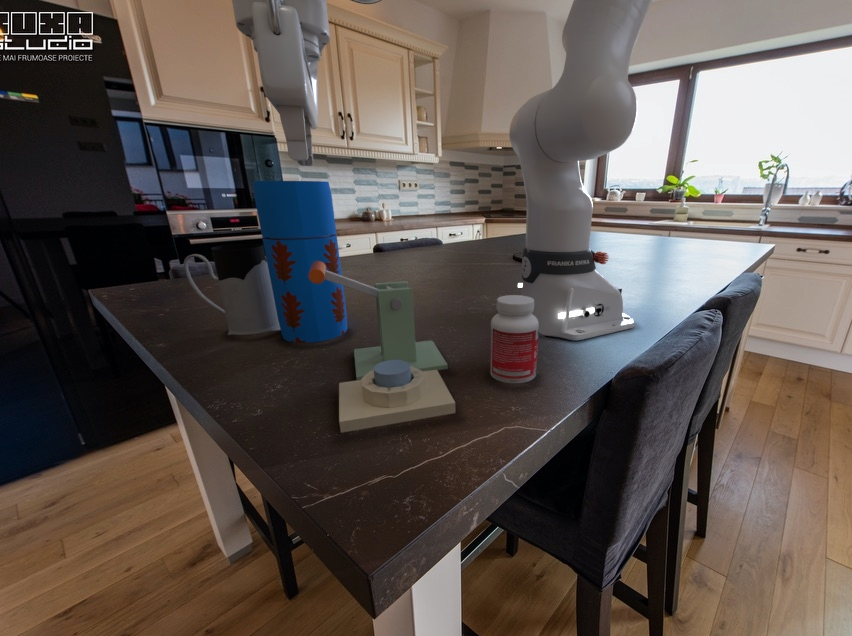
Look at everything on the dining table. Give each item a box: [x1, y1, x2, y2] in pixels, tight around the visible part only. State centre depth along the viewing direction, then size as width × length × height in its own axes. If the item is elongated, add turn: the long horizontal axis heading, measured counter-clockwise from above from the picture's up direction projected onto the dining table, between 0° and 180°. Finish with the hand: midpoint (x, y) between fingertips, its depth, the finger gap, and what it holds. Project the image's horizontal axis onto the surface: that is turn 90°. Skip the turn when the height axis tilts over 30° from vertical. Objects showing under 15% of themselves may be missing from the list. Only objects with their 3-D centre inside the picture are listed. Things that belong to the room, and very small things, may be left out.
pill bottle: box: [489, 294, 539, 384], centre depth 51 cm, size 6×6×11 cm
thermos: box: [252, 180, 348, 344], centre depth 64 cm, size 11×11×25 cm
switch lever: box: [308, 261, 393, 298], centre depth 52 cm, size 12×6×2 cm, turn 109°
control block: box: [338, 366, 456, 434], centre depth 45 cm, size 12×9×4 cm
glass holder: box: [183, 243, 281, 336], centre depth 68 cm, size 9×14×15 cm, turn 89°
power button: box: [374, 360, 411, 388], centre depth 44 cm, size 4×4×2 cm
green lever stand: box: [353, 280, 449, 381], centre depth 55 cm, size 12×10×12 cm
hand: (303, 163), depth 45 cm, fingers open, 8 cm apart
